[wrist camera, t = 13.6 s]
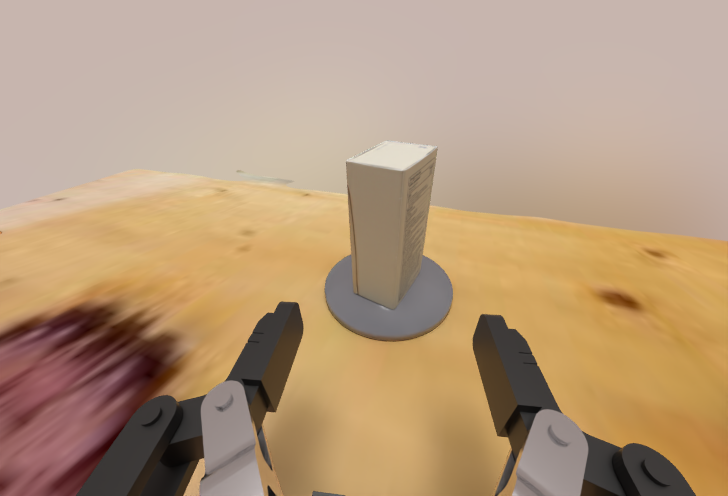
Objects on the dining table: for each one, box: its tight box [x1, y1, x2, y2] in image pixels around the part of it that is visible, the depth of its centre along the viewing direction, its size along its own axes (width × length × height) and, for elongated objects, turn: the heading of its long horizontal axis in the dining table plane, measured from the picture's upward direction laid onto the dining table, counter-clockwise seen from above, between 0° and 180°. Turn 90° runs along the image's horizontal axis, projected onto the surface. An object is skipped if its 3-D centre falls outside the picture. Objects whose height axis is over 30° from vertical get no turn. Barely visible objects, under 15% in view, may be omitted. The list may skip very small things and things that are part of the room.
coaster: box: [325, 255, 453, 341], centre depth 25 cm, size 12×12×1 cm
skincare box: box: [346, 141, 437, 310], centre depth 21 cm, size 6×4×12 cm
